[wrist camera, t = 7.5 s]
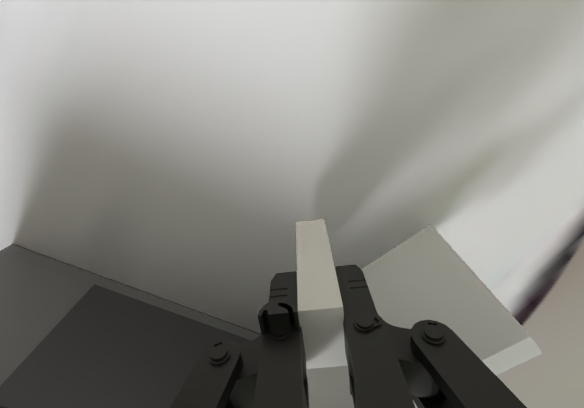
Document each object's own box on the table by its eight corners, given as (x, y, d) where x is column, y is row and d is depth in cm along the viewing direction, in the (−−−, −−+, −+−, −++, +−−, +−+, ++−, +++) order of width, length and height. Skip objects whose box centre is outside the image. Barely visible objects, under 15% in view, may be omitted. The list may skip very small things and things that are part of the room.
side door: (261, 330, 21) (243, 474, 13) (428, 221, 17) (528, 332, 10) (280, 347, 21) (274, 493, 14) (446, 245, 18) (552, 366, 11)
